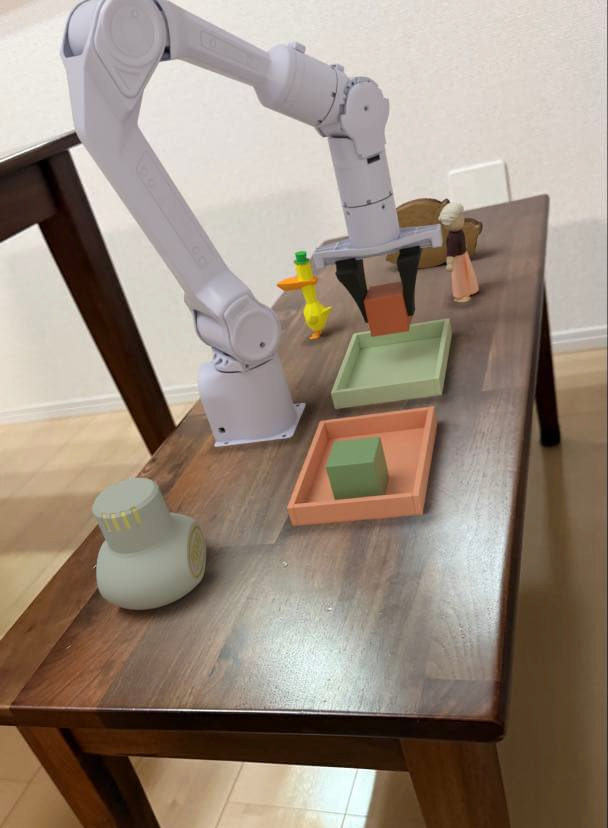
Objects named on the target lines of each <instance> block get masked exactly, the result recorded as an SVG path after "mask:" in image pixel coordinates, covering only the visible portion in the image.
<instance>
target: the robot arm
mask: <svg viewBox="0 0 608 828" xmlns="http://www.w3.org/2000/svg"><path fill="white" fill-rule="evenodd" d="M306 49H307V47H306V45H304V44H303V43H299V42H298V41H293V42H288V43H287V44H285V43H279V44H276V45H275V46H273V47H271V48H270V49H269V50H267V51H266V50H263V49H262V48H260V47H258V46H256V45H254V44H252V43H250V42H248V41H247V40H245V39H243V38H241V37H239V36H237V35H235V34H233V33H231V32H229V31H227V30H225V29H223V28H222V27H219V26H217V25H215V24H214V23H212V22H210V21H208V20H206V19H204V18H202V17H200V16H198V15H196V14H194V13H192V12H191V11H188V10H186V9H185V8H182V7H181V6H179V5H177V4H176V3H174V2H172V1H171V0H81V1H80V2H78V3H76V5H74V7H72V9H71V10H70V11H69V14H68V15H67V18H66V21H65V25H64V30H63V34H62V39H61V43H60V48H59V56H60V60H61V61H62V64H63V68H64V69H65V74H66V80H67V87H68V95H69V100H70V108H71V109H70V110H71V114H72V123H73V128H74V131H75V133H76V135H77V138H78V139H79V141H80V142H81V144H82V145H83V146H84V148H85V150H86V152H88V154H89V155H90V157H91V158H92V160H93V161H94V162H95V164H96V166H97V167H98V169H99V170H100V172H102V174H103V176H104V177H105V179H106V180H107V182H108V183H109V185H110V186H111V187H112V189H113V191H114V192H115V193H116V195H117V196H118V197H119V199H120V200H121V202H122V203H123V205H124V206H125V208H126V209H127V210H128V212H129V214H130V215H131V216H132V218H133V220H135V222H136V223H137V225H138V226H139V228H140V229H141V230H142V233H144V235H145V237H146V238H147V240H148V241H149V242H150V244H151V245H152V247H153V248H154V250H155V251H156V252H157V253H158V255H159V257H160V259H161V260H162V261H163V262H164V264H165V266H166V267H167V269H168V270H169V272H170V273H171V275H172V276H173V277H174V278H175V280H176V281H177V283H178V284H179V286H180V287H181V288H182V290H183V293H184V294H183V301H184V304H185V305H186V306H187V308H188V310H189V311H190V313H191V317H192V322H193V329H194V331H195V333H196V336H197V337H198V339H199V340H200V341H201V342H202V343H204V344H205V345H207V346H208V347H210V348H211V351H212V355H211V356H212V360H211V361H207V362H204V363H202V364H201V366H200V368H199V369H198V373H197V389H198V390H197V391H198V395H199V398H200V403H201V405H202V408H203V410H204V412H205V416H206V420H207V421H208V424H209V427H210V430H211V432H212V435H213V437H214V441H215V443H214V444H213V446H214V448H218V447H224V446H225V447H226V446H233V445H234V446H235V445H242V444H251V443H257V442H266V441H273V440H282V439H290V438H292V437H293V436H294V434H295V433H296V429H297V427H298V424H299V422H300V420H301V417H302V415H303V413H304V411H305V408H306V405H307V404H306V403H305V402H300V403H294V401H293V397H292V393H291V390H290V387H289V383H288V380H287V377H286V376H287V375H286V373H285V368H284V366H283V362H282V359H281V356H280V353H279V349H278V348H279V345H280V343H281V339H282V325H281V321H280V319H279V316H278V315H277V313H276V312H275V311H274V310H273V308H272V307H270V306H268V305H266V304H264V303H262V302H261V301H260V300H258V298H256V296H255V295H254V293H253V292H252V290H251V289H250V288H249V287H248V285H246V284H245V283H244V282H243V281H242V279H241V278H239V277H238V276H237V275H236V274H235V273H234V272H233V271H232V270H231V269H230V268H229V267H228V264H226V262H225V260H224V259H223V258H222V256H221V255H220V253H219V251H218V250H217V248H216V246H215V244H213V242H212V240H211V238H210V237H209V235H208V234H207V232H206V231H205V229H204V228H203V226H202V225H201V223H200V221H199V219H198V218H197V216H196V215H195V213H194V212H193V211H192V209H191V208H190V205H189V204H188V202H187V201H186V199H185V198H184V196H183V195H182V192H180V189H179V188H178V186H177V185H176V183H175V182H174V181H173V179H172V177H171V175H170V174H169V173H168V171H167V170H166V168H165V166H164V165H163V163H162V162H161V160H160V159H159V157H158V156H157V154H156V152H155V151H154V149H153V148H152V146H151V144H150V143H149V141H148V140H147V138H146V137H145V135H144V134H143V132H142V131H141V129H140V127H139V124H138V123H139V117H140V111H141V106H142V102H143V98H144V97H143V96H144V92H145V90H146V88H147V85H148V83H149V82H150V80H151V79H152V76H153V75H154V73H155V71H156V70H157V67H158V66H159V64H160V63H164V62H170V61H176V60H179V61H182V62H185V63H187V64H190V65H192V66H196V67H198V68H201V69H203V70H207V71H210V72H211V73H215V74H217V75H220V76H223V77H226V78H228V79H231V80H234V81H236V82H239V83H242V84H245V85H247V86H249V87H252V88H253V89H254V93H255V94H256V97H257V100H258V101H259V103H260V104H261V105H262V106H263V107H264V108H266V109H269V110H271V111H274V112H276V113H278V114H281V115H283V116H285V117H288V118H290V119H294V120H295V121H298V122H299V123H300V122H301V123H303V124H306V125H308V126H310V127H313V129H314V130H315V132H317V134H318V135H319V136H320V137H322V138H327V143H328V148H329V152H330V157H331V162H332V167H333V170H334V171H333V172H334V175H335V180H336V184H337V190H338V193H339V198H340V203H341V208H342V213H343V218H344V222H345V226H346V231H347V236H348V238H347V239H344V240H340V241H336V242H333V243H330V244H327V245H322V246H317V247H315V248H314V250H313V252H312V259H313V262H314V267H315V270H323V269H325V268H326V267H327V266H333V265H334V266H335V269H336V270H335V272H334V273H335V277H336V279H337V281H339V282H340V284H341V285H342V286H343V287H344V288H345V289H346V291H347V292H348V293H349V295H350V296H351V297H352V299H353V300H354V302H355V304H356V306H357V307H358V309H359V311H360V313H361V315H362V318H363V320H364V323H365V324H369V323H368V319H367V314H366V309H365V305H364V299H365V297H366V294H367V292H368V286H367V285H368V284H367V280H366V273H365V267H364V266H365V265H364V260H366V259H371V258H376V257H381V256H387V255H388V254H393V253H398V252H400V254H399V256H398V258H397V261H396V263H397V264H396V267H397V271H398V273H399V277H400V281H401V282H402V286H403V290H404V298H405V305H406V310H407V314H408V316H413V317H414V315H415V311H416V302H415V301H416V299H415V297H416V296H415V295H416V284H417V276H418V269H419V268H418V266H419V261H420V257H421V253H422V249H423V248H425V247H431V246H432V248H436V247H441V246H442V243H443V238H442V231H441V225H440V224H436V225H430V226H420V227H408V228H399V222H398V217H397V211H396V208H397V206H396V202H395V196H394V190H393V185H392V179H391V172H390V168H389V163H388V157H387V156H388V155H387V151H386V146H385V145H387V139H386V134H385V133H386V132H385V131H386V130H385V129H386V125H387V123H388V120H389V115H390V99H389V98H386V97H384V94H383V91H382V89H381V88H379V84H378V83H377V82H376V81H374V80H373V79H371V78H370V77H368V76H351V77H348V75H347V74H346V73H345V66H344V65H342V64H340V63H337V62H332V63H331V64H328V63H327V62H324V61H321V60H319V59H317V58H315V57H313V56H310V55H309V54H306Z"/></svg>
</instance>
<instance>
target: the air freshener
mask: <svg viewBox="0 0 608 828" xmlns="http://www.w3.org/2000/svg"><path fill="white" fill-rule="evenodd" d="M91 512H92V514H93V516H94V518H95V520H96V523H97V525H98V527H99V529H100V532H101V533H102V535H103V537H104V539H105V540H104V541H103V543H102V544H101V545H100V548H99V551H98V554H97V558H96V566H95V567H96V569H95V571H96V573H95V574H96V575H95V576H96V585H97V588H98V591H99V593H100V596H101V597H102V598H103V599H104V600H106V602H108V603H110V604H111V605H114V606H116V607H119V608H121V609H127V610H133V611H134V610H135V611H144V610H152V609H158V608H161V607H165V606H167V605H170V604H172V603H174V602H176V601H177V600H180V599H182V598H183V597H184V596H186V595H188V594H189V593H190V592H191V591H193V590H194V589H195V588H196V587H197V586H198V585H199V584H200V583H201V582H202V580H203V577H204V575H205V571H206V565H207V564H206V563H207V544H206V537H205V533H204V530H203V527H202V525H201V523H200V522H199V521H198V520H196V519H195V518H192V517H191V516H188V515H186V514H181V513H178V512H170V511H169V508H168V506H167V503H166V501H165V499H164V496H163V493H162V492H161V490H160V487H159V485H158V483H157V482H156V481H154V480H152V479H151V478H146V477H132V478H128V479H123V480H121V481H119V482H116V483H114V484H112V485H109V487H107V488H106V489H104V490H103V491H102V492H100V493H99V494H98V496H97V497H96V498H95V500H94V502H93V504H92V507H91Z"/></svg>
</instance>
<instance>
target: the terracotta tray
mask: <svg viewBox="0 0 608 828" xmlns="http://www.w3.org/2000/svg"><path fill="white" fill-rule="evenodd" d="M437 428H438V420H437V414H436V409H435V406H434V405H433V406H432V405H431V406H427V407H425V406H424V407H417V408H410V409H402V410H393V411H387V412H386V411H385V412H379V413H371V414H364V415H355V416H347V417H340V418H332V419H326V420H325V419H324V420H320V421H319V423H318V425H317V428H316V431H315V433H314V436H313V439H312V440H311V441H312V442H311V444H310V447H309V449H308V452H307V455H306V457H305V459H304V462H303V465H302V467H301V469H300V473H299V476H298V478H297V480H296V483H295V485H294V488H293V490H292V494H291V496H290V499H289V502H288V504H287V507H286V510H287V513H288V517H289V520H290V522H291V526H292V527H297V526H309V525H318V524H319V525H321V524H331V523H332V524H333V523H343V522H353V521H365V520H377V519H387V518H397V517H410V516H421V515H423V514H424V509H425V503H426V496H427V491H428V485H429V477H430V471H431V467H432V466H431V465H432V459H433V453H434V447H435V440H436V434H437ZM378 436H380V438H381V442H382V447H383V451H384V455H385V460H386V464H387V468H388V473H389V479H388V484H387V488H386V492H385V495H382V496H372V497H362V498H351V499H341V500H335V499H334V496H333V492H332V489H331V485H330V481H329V478H328V474H327V471H326V464H327V461H328V458H329V455H330V452H331V449H332V447H333V444H334V442H336V441H344V440H353V439H361V438H369V437H378Z"/></svg>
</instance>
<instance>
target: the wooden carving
mask: <svg viewBox="0 0 608 828" xmlns="http://www.w3.org/2000/svg"><path fill="white" fill-rule="evenodd" d="M449 203H451V201H450V200H449V199H448V198H444V199H443V200H439V199H436V198H432V197H421V198H417V199H412V200H409V201H406V202H404V203H401V204H400V205H398V206H396V211H397V217H398V222H399V228H408V227H420V226H430V225H436V224H440V225H441V231H442V238H443V243H442V246H441V247H436V248H432V246H431V247H425V248H423V249H422V253H421V257H420V261H419V266H418V269H429V268H433V267H437V266H440V265H442V264H444V263H447V257H446V254H447V247H446V239H447V236H448V233H449V231H448V230H447V229H446V227H445V225H444V224H442V222H440V221H439V220H438V218H439V216H440V213H441V212H442V210H443V208H444V207H445V206H446V205H447V204H449ZM483 227H484V226H483V222H482V221H479V220H477V219H475V218H474V217H473V218H471V217H464V225H463V227H462V228H461V229H462V230H463V232H464V234H465V242H466V245H467V253H468V255H469V257H472V256H474V255H476V250H477V249H476V248H477V245H478V238H479V236H480V235H481V233H482V231H483ZM399 254H400V252H398V253H393V254H388V255H386V257H385V261H387V262H389V263H391V264H393V265H397V263H396V261H397V258H398V256H399Z"/></svg>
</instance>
